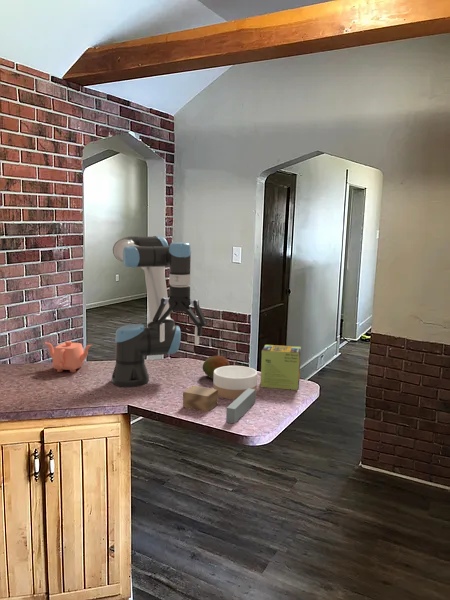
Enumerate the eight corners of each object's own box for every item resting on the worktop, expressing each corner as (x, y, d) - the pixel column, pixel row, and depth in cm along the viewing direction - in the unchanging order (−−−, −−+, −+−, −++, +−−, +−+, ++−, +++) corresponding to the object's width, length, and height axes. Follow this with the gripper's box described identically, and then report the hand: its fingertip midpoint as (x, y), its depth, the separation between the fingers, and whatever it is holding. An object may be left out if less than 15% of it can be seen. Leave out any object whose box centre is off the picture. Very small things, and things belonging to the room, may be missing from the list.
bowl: (265, 392, 204) (266, 372, 202) (235, 403, 192) (236, 381, 190) (234, 382, 216) (234, 363, 214) (204, 391, 203) (204, 371, 202)
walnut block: (182, 407, 186) (183, 391, 185) (193, 400, 193) (193, 385, 192) (207, 412, 182) (207, 396, 181) (217, 405, 189) (217, 389, 188)
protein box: (298, 390, 207) (299, 352, 204) (260, 387, 210) (261, 350, 207) (299, 382, 217) (301, 346, 214) (263, 379, 220) (264, 344, 217)
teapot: (45, 367, 231) (44, 340, 229) (81, 362, 240) (80, 335, 238) (56, 376, 219) (55, 347, 217) (93, 370, 228) (93, 342, 226)
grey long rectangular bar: (226, 421, 173) (226, 407, 172) (247, 401, 193) (247, 388, 193) (234, 423, 172) (235, 409, 171) (255, 402, 192) (255, 389, 191)
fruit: (220, 384, 212) (220, 360, 211) (195, 378, 219) (195, 356, 217) (234, 377, 222) (235, 354, 221) (210, 372, 229) (210, 350, 227)
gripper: (143, 284, 186) (143, 342, 189) (209, 289, 179) (208, 348, 183) (152, 282, 193) (152, 337, 197) (215, 286, 186) (214, 343, 190)
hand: (179, 343), depth 190 cm, fingers open, 13 cm apart
